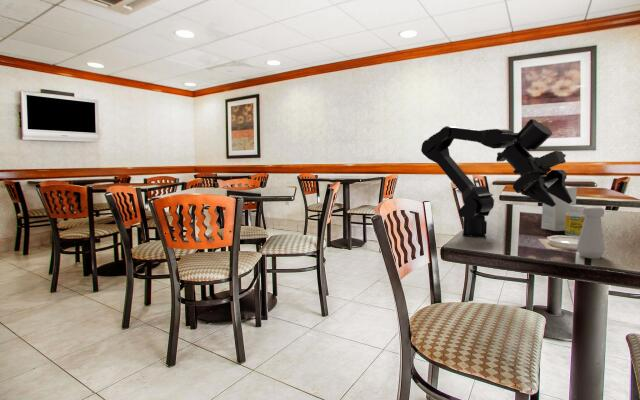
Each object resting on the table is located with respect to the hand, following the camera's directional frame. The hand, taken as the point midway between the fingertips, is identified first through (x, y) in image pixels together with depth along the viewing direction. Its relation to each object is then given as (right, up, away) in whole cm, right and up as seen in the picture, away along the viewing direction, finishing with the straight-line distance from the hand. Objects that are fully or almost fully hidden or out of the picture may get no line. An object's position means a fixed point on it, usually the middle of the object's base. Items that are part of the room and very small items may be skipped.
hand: (562, 204), depth 97 cm
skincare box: (+17, -9, +29) cm, 35 cm away
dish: (+7, -12, +7) cm, 15 cm away
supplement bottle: (+17, -10, +20) cm, 28 cm away
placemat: (+7, -12, +7) cm, 15 cm away
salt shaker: (+4, -14, -4) cm, 15 cm away
